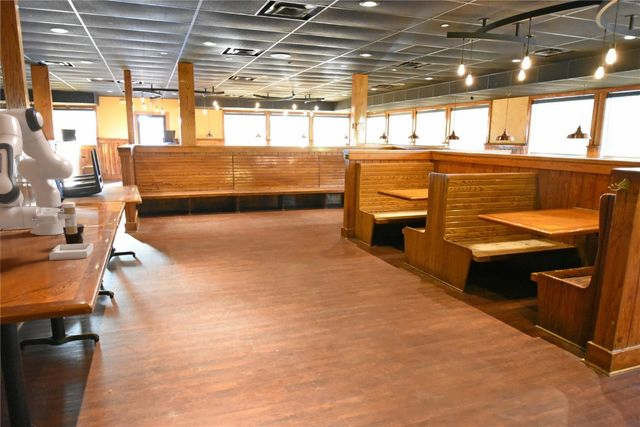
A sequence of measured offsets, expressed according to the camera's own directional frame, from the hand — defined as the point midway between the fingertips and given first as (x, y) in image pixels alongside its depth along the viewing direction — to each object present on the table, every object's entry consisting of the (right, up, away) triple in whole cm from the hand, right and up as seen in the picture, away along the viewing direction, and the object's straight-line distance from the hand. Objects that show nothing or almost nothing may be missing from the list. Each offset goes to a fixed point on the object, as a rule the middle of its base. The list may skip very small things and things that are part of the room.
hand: (71, 215), depth 185 cm
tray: (-1, -17, +3) cm, 18 cm away
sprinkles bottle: (0, -8, +1) cm, 8 cm away
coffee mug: (-7, -15, +18) cm, 24 cm away
